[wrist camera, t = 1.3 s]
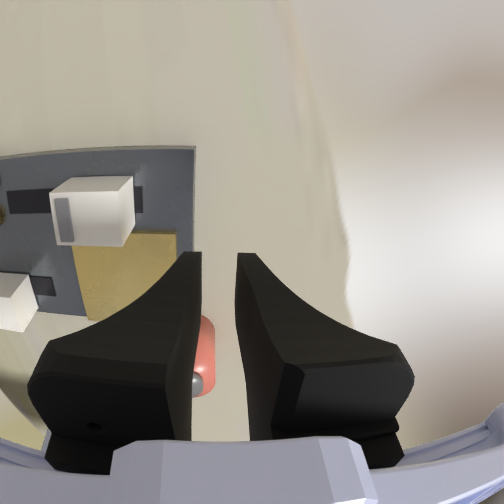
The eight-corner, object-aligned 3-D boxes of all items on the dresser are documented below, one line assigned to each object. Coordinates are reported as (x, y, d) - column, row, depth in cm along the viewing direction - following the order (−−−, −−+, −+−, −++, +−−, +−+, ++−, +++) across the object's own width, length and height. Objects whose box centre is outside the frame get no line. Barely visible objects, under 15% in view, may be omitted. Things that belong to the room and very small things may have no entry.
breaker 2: (135, 224, 19) (121, 248, 16) (76, 223, 18) (55, 246, 15) (132, 175, 17) (116, 192, 14) (71, 177, 17) (47, 194, 14)
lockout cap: (214, 350, 26) (215, 405, 21) (166, 348, 25) (158, 402, 20) (215, 312, 24) (215, 368, 19) (161, 310, 23) (151, 365, 18)
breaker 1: (38, 307, 21) (21, 334, 18) (2, 303, 20) (-16, 327, 17) (28, 274, 19) (8, 299, 17) (-9, 271, 19) (-29, 294, 16)
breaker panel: (194, 312, 24) (193, 328, 22) (14, 299, 22) (5, 311, 20) (195, 146, 18) (193, 151, 17) (-16, 159, 16) (-31, 166, 15)
